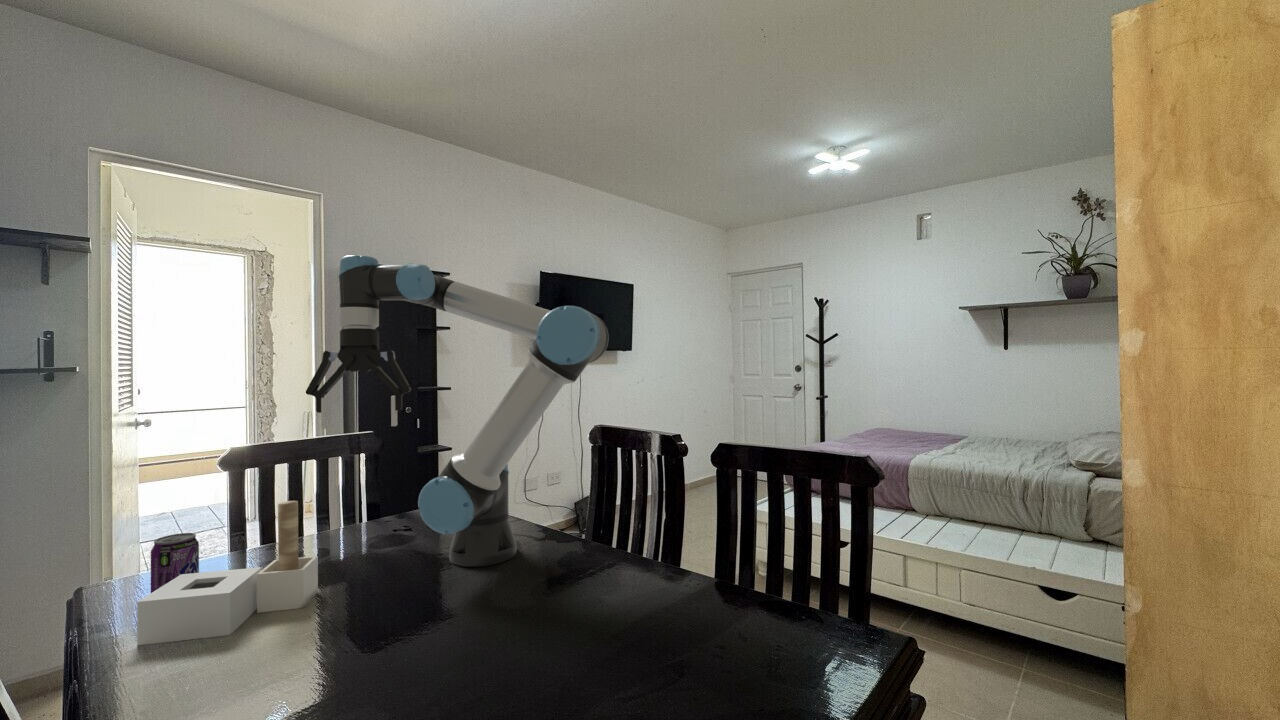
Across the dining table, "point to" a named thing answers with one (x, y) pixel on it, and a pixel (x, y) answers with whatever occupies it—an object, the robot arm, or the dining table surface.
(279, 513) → the wooden cylinder rod
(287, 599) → the pen cup
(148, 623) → the box
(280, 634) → the dining table surface
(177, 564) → the beverage can
